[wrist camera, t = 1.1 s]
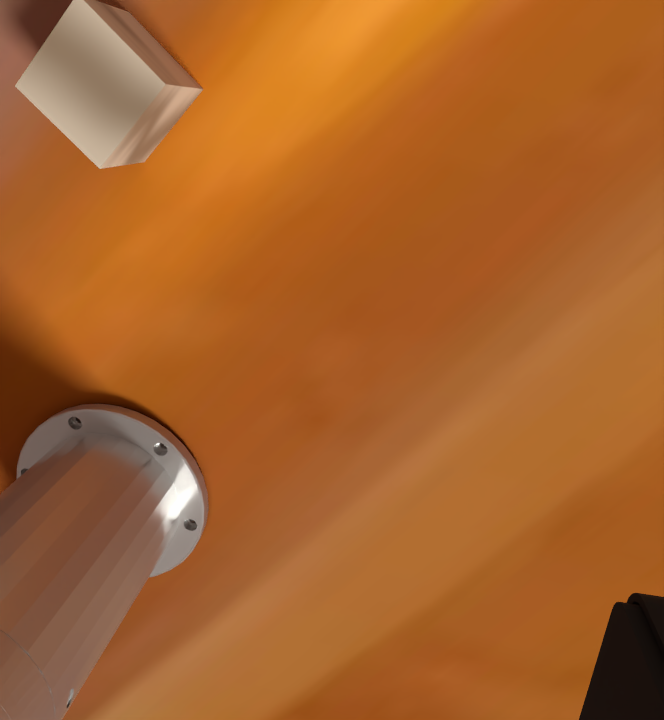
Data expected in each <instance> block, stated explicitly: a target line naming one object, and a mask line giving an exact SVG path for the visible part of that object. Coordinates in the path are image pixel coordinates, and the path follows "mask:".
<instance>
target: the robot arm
mask: <svg viewBox="0 0 664 720" xmlns="http://www.w3.org/2000/svg"><path fill="white" fill-rule="evenodd" d="M207 515H208V493H207V489H206V486H205V482H204V478H203V475H202V473H201V471H200V469H199V467H198V465H197V463H196V461H195V459H194V458H193V457H192V455H191V454H190V453H189V451H188V450H187V448H186V447H185V446H184V445H183V444H182V443H181V442H180V441H179V440H178V439H177V438H176V437H175V436H174V435H173V434H172V433H171V432H170V431H169V430H167V429H166V428H164V427H163V426H162V425H160V424H159V423H157V422H156V421H155V420H153V419H151V418H149V417H147V416H145V415H143V414H141V413H139V412H136V411H133V410H130V409H127V408H123V407H120V406H115V405H107V404H84V405H79V406H75V407H71V408H67V409H64V410H63V411H61V412H59V413H57V414H55V415H53V416H51V417H50V418H49V419H47V420H46V421H45V422H44V423H42V424H41V425H40V426H38V427H37V428H36V429H35V430H34V432H33V433H32V434H31V435H30V436H29V437H28V438H27V440H26V442H25V444H24V446H23V448H22V450H21V452H20V455H19V459H18V463H17V479H16V481H14V482H13V483H12V484H11V485H10V486H9V487H8V488H6V489H5V490H4V491H3V492H2V493H1V494H0V720H62V719H63V717H64V715H65V714H66V712H67V710H68V709H69V707H70V706H71V704H72V702H73V701H74V699H75V697H76V696H77V694H78V692H79V691H80V689H81V687H82V686H83V684H84V683H85V681H86V679H87V678H88V676H89V674H90V673H91V671H92V669H93V668H94V666H95V664H96V663H97V661H98V660H99V658H100V656H101V655H102V653H103V651H104V650H105V648H106V646H107V645H108V643H109V641H110V640H111V638H112V637H113V635H114V633H115V632H116V630H117V628H118V627H119V625H120V623H121V622H122V620H123V618H124V617H125V615H126V614H127V612H128V610H129V609H130V607H131V605H132V604H133V602H134V600H135V599H136V597H137V595H138V594H139V592H140V591H141V589H142V587H143V586H144V584H145V582H146V581H147V579H148V577H153V576H157V575H160V574H162V573H165V572H167V571H170V570H171V569H173V568H174V567H176V566H177V565H179V564H180V563H182V562H183V561H184V560H185V559H186V558H187V557H188V555H189V554H190V553H191V552H192V551H193V549H194V548H195V546H196V544H197V543H198V541H199V539H200V537H201V535H202V533H203V530H204V528H205V525H206V521H207ZM579 720H664V597H659V596H653V595H646V594H640V593H633V594H632V595H631V596H630V597H629V598H628V601H627V603H623V602H616V604H615V605H614V607H613V609H612V612H611V615H610V619H609V622H608V625H607V628H606V632H605V635H604V638H603V642H602V645H601V648H600V652H599V655H598V658H597V662H596V665H595V668H594V672H593V675H592V678H591V681H590V685H589V688H588V691H587V695H586V698H585V701H584V705H583V708H582V711H581V715H580V718H579Z"/></svg>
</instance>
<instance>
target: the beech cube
mask: <svg viewBox="0 0 664 720" xmlns="http://www.w3.org/2000/svg"><path fill="white" fill-rule="evenodd" d="M15 86H16V87H17V88H18V89H19V90H20V91H21V92H22V93H23V94H24V95H25V96H26V97H27V98H28V99H29V100H30V101H31V102H32V103H33V104H34V105H35V106H36V107H37V108H38V109H39V110H40V111H41V112H42V113H43V114H44V115H45V116H46V117H47V118H48V119H49V120H50V121H51V122H52V123H53V124H54V125H55V126H56V127H57V128H58V129H60V130H61V131H62V132H63V133H64V134H65V135H66V136H67V137H68V138H69V139H70V140H71V141H72V142H73V143H74V144H75V145H76V146H77V147H78V148H79V149H80V150H81V151H82V152H83V153H84V154H85V155H86V156H87V157H88V158H89V159H90V160H91V161H92V162H93V163H94V164H95V165H96V166H97V167H98V168H99V169H102V168H108V167H115V166H122V165H128V164H135V163H141V162H145V161H146V159H147V158H148V157H149V156H150V154H151V153H152V152H153V151H154V149H155V148H156V147H157V146H158V144H159V143H160V142H161V141H162V140H163V138H164V137H165V136H166V135H167V133H168V132H169V131H170V130H171V128H172V127H173V126H174V125H175V124H176V122H177V121H178V120H179V119H180V117H181V116H182V115H183V114H184V112H185V111H186V110H187V109H188V107H189V106H190V105H191V104H192V103H193V101H194V100H195V99H196V98H197V96H198V95H199V94H200V93H201V91H202V90H203V88H202V87H201V86H200V85H199V84H198V83H197V82H196V81H195V80H194V79H193V78H192V77H191V76H190V75H189V74H188V73H187V72H186V71H185V70H184V69H183V68H182V67H181V66H180V65H179V63H178V62H177V61H176V60H175V59H174V58H173V57H172V56H171V55H170V54H169V53H168V52H167V51H166V50H165V49H164V48H163V47H162V46H161V45H160V44H159V43H158V42H157V41H156V40H155V39H154V38H153V37H152V36H151V34H150V33H149V32H148V31H147V30H146V29H145V28H144V27H143V26H142V25H141V24H140V23H139V22H138V21H137V20H136V19H135V18H134V17H133V16H132V15H131V14H130V13H129V12H128V11H125V10H122V9H119V8H116V7H113V6H111V5H108V4H105V3H102V2H99V1H97V0H73V1H72V2H71V4H70V5H69V7H68V8H67V10H66V11H65V13H64V14H63V16H62V17H61V19H60V20H59V22H58V23H57V25H56V26H55V28H54V29H53V31H52V32H51V34H50V35H49V36H48V38H47V39H46V41H45V42H44V44H43V45H42V47H41V48H40V50H39V51H38V53H37V54H36V56H35V57H34V59H33V60H32V62H31V63H30V65H29V66H28V68H27V69H26V71H25V72H24V73H23V75H22V76H21V78H20V79H19V81H18V82H17V84H16V85H15Z"/></svg>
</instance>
